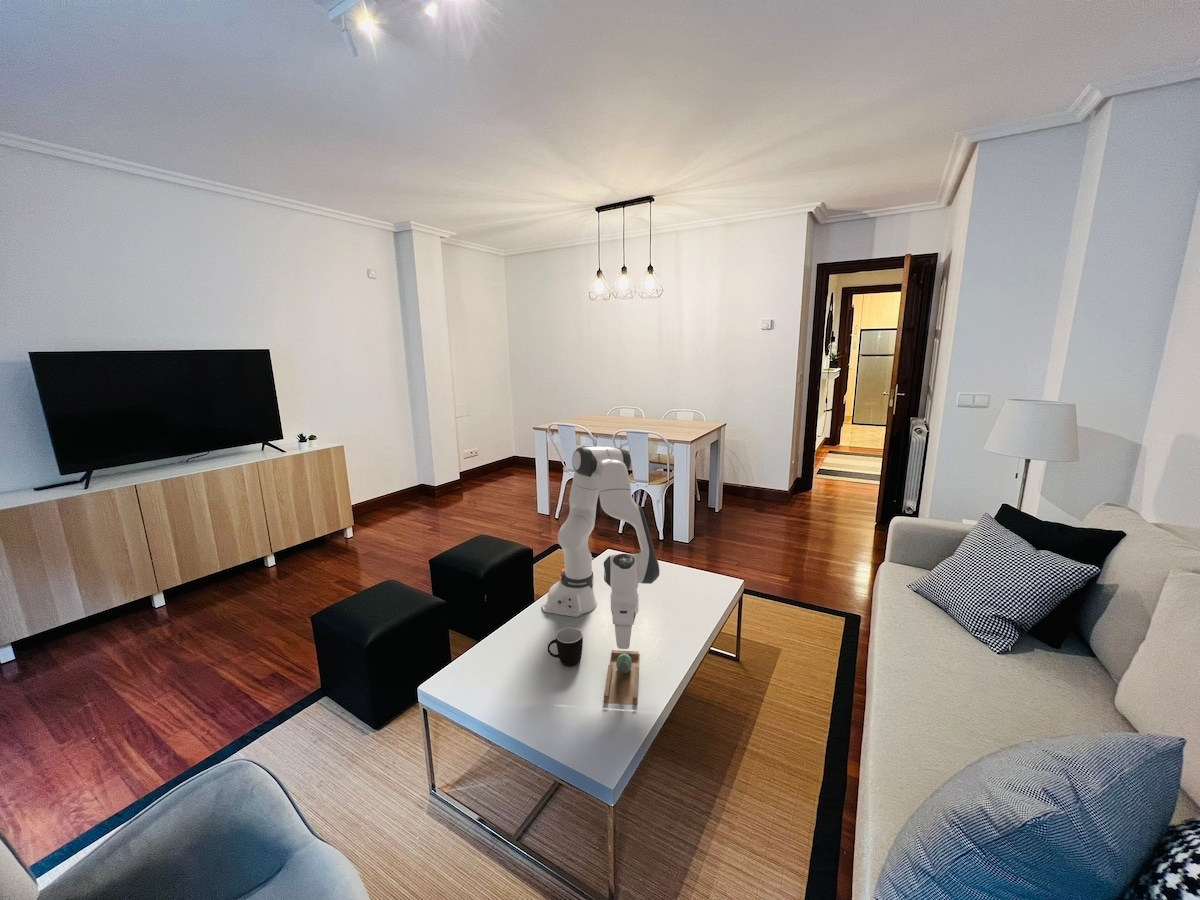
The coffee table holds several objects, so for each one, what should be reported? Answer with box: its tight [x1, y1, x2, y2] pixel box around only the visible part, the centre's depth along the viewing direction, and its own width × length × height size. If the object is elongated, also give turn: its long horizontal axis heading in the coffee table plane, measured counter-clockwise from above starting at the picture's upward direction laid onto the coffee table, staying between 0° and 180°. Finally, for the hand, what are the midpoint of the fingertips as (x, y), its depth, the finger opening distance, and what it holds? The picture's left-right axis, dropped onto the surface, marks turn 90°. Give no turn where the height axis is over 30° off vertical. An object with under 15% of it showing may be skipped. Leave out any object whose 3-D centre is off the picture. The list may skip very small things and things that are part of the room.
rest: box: [603, 649, 641, 706], centre depth 155 cm, size 10×24×3 cm, turn 173°
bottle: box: [616, 653, 632, 673], centre depth 153 cm, size 5×5×14 cm
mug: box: [547, 626, 584, 668], centre depth 162 cm, size 12×9×10 cm
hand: (625, 643), depth 156 cm, fingers closed
